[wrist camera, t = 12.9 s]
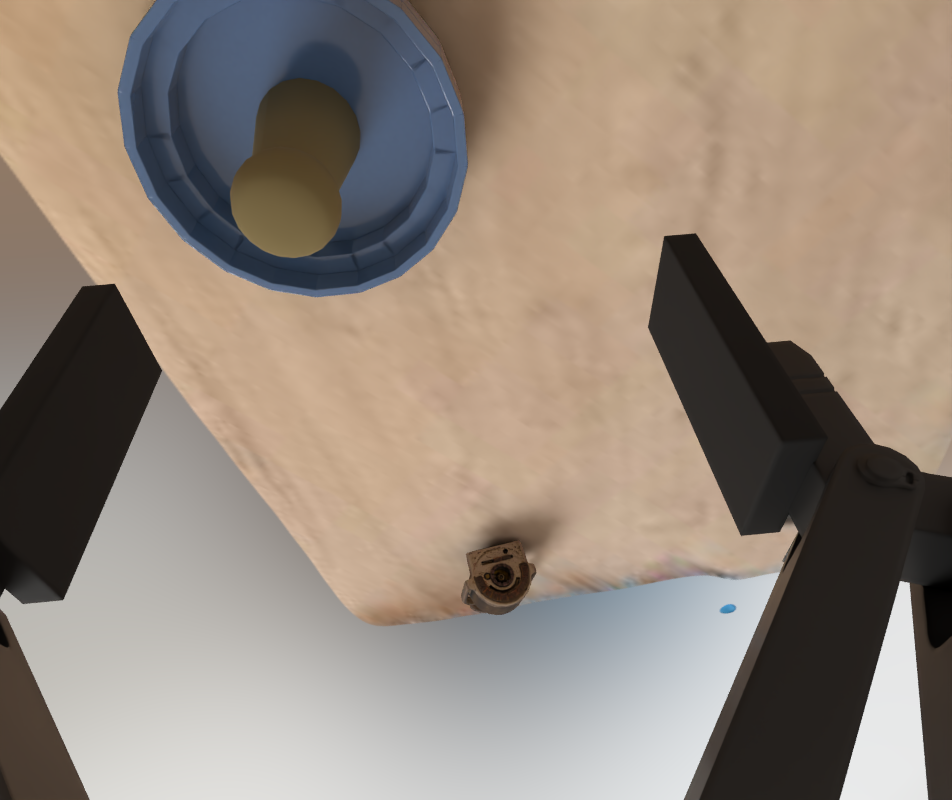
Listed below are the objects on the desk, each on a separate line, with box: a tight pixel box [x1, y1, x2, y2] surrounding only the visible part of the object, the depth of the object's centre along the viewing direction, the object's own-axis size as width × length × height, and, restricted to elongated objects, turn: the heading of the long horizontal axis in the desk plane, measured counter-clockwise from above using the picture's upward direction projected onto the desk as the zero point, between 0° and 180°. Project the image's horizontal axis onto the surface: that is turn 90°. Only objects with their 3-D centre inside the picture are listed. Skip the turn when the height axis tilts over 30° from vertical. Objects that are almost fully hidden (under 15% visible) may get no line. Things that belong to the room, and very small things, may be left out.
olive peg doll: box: [230, 78, 360, 258], centre depth 33 cm, size 6×6×11 cm
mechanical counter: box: [461, 540, 536, 615], centre depth 70 cm, size 7×13×10 cm
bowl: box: [118, 0, 468, 297], centre depth 36 cm, size 18×18×4 cm
